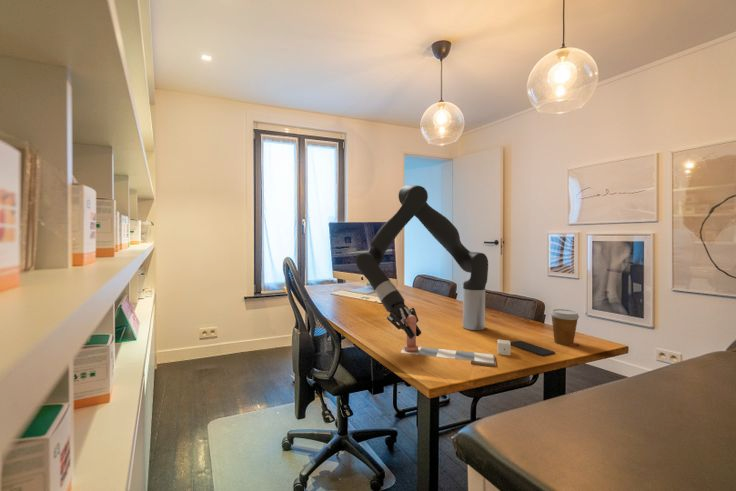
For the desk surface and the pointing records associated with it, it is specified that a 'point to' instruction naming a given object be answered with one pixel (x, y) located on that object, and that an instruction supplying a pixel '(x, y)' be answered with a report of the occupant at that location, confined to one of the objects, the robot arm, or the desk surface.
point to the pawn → (412, 324)
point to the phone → (532, 348)
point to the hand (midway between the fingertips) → (416, 335)
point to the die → (504, 347)
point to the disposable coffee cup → (564, 325)
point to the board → (456, 355)
